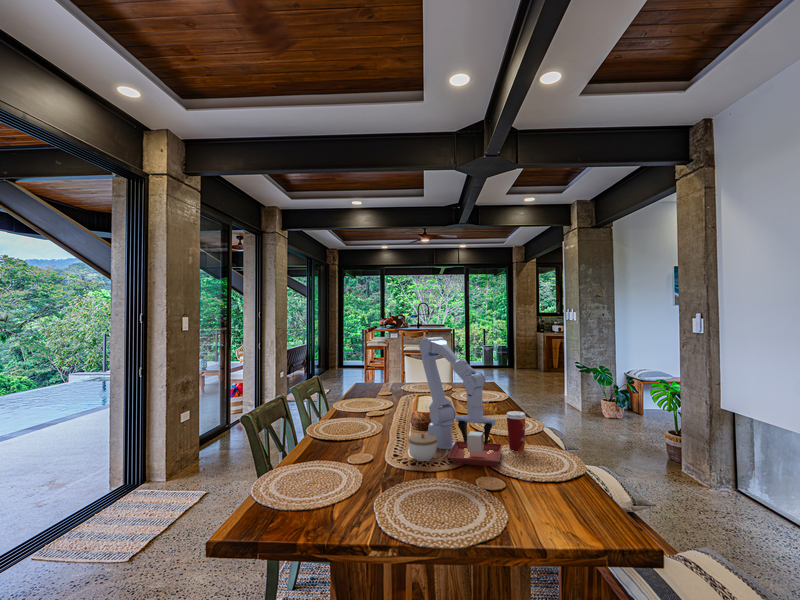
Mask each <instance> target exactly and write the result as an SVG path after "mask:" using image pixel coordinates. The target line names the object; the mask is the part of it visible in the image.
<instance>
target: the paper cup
mask: <svg viewBox="0 0 800 600" xmlns="http://www.w3.org/2000/svg"><path fill="white" fill-rule="evenodd" d="M505 417H506V424H507V435H508V438H507V439H508V446H509V450H510V449H511V450H510V451H512V450H514V451H513V452H515V451H522V452H524V451H525V443H526V442H525V441H526V419H527V416H526V413H525V412H524V411H517V410H513V411H507V412H506V415H505ZM523 450H524V451H523Z"/></svg>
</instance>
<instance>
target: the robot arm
mask: <svg viewBox="0 0 800 600" xmlns="http://www.w3.org/2000/svg"><path fill="white" fill-rule="evenodd" d="M418 348H419V352H420V355H421V362H422V365H423V370H424V373H425V376H426V380H427V384H428V388H429V392H430V395H431V400H432V402H431V403H430V405H429V406H428V409H429V419H430V423H429V424H428V428H427V434H431V435H434V436H436V437H437V449H441V450H450V451H451V449H452V447H453V445H454V443H455V442H456V441H453V423H454V420H455V422H456V423H457V426H458V428H459V430H460V432H461V435H462V437H463V438H462V439H463V441H464V442H467V435H468V423H469V424H470V423H471V424H482V425H483V434H484V443H485V445H487V443H489V436H490V433H491V430H492V427H493V426H496V418H493V417H488V416H487V417H486V416H484V411H483V410H484V406H483V402H484V401H483V388H484V386H485V385H486V377H485V375H484V374H483V373H482V372H480V371H479V372H478V371H476V370H475V369H474V368H473V367H471V365H470V364H468V361H467V360H465V359H461V358H459V357H458V356H457V355H456V354H455V353H454V351H453V350H452V349H451V348H450V347H449V345H448V341H447V340H446V339H444V337H442V336H435V337H423V338H422V339H421V340H420V342H419V345H418ZM440 355H441V356H442V357H443V358H444V359H445V360H446V361H447V362H449V363H450V364H451V365H452V370H453V372H454V373H455V374H457V376H458V377H459V378H460V379H461V380H462V384H463V386H464V389H465V393H466V404H467V405H466V413H467V414H466V415H457V413H456V410H455V408H454V406H453V404H452V401H450V400H449V399H448V398H447V397H446V395H445V390H444V386H443V383H442V381H441V380H442V379H441V376H440V373H439V369H438V366H437V359H438V358H439V357H440Z"/></svg>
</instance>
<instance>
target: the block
mask: <svg viewBox="0 0 800 600" xmlns="http://www.w3.org/2000/svg"><path fill="white" fill-rule="evenodd" d="M484 443H485V437H484V431H483V432H481V431H472V430H470V431H469V432H467V448H468V452H475V453H482V451H483V449H484Z"/></svg>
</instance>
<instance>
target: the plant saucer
mask: <svg viewBox="0 0 800 600" xmlns="http://www.w3.org/2000/svg"><path fill="white" fill-rule="evenodd" d="M454 442H455V443H454V445H453V447H452V448H451V449H450V452H449V453H448V457H447V458H449V460H450V461H451V462H452V463H453V462H454V463H453V464H458V463H464V464H463V465H471V466H481V467H482V466H483V467H492V466H495V467H496V466H497V465H498V464H499V463H500V461H501V460H500V459H501V455H502V454H501V453H502V447H503V444H501V443H494V442H493V443H492V442H488V443H487V445H485V442H484V449H483V451H482V453H475V452H470V457H469V458H464V455H465V454H464V452H465V451H463V450H464V448H467V442H464V440H463V441H462V440H461V441H459V440H456V441H454ZM467 449H468V448H467ZM489 450H493V451H494V452H492V453H490V454H487V452H488V451H489Z"/></svg>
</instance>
